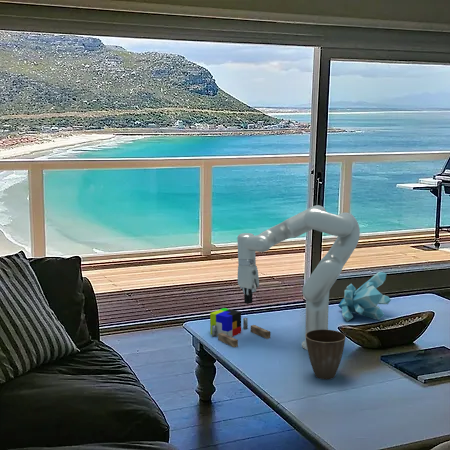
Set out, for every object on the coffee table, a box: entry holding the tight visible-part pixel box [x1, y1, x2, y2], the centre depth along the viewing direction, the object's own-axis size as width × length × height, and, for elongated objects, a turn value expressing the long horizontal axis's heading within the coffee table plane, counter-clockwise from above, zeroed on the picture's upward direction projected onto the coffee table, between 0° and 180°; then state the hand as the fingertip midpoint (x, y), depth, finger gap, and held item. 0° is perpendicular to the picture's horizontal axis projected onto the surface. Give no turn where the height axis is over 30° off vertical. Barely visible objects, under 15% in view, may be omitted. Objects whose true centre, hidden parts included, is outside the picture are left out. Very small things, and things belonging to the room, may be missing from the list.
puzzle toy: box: [209, 307, 242, 338], centre depth 296 cm, size 10×10×10 cm
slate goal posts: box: [211, 317, 249, 338], centre depth 298 cm, size 2×20×5 cm, turn 125°
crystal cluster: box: [337, 271, 392, 322], centre depth 315 cm, size 22×26×21 cm
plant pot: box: [305, 329, 346, 381], centre depth 247 cm, size 15×15×16 cm
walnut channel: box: [217, 324, 272, 348], centre depth 289 cm, size 12×20×3 cm, turn 125°
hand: (248, 302), depth 284 cm, fingers closed
